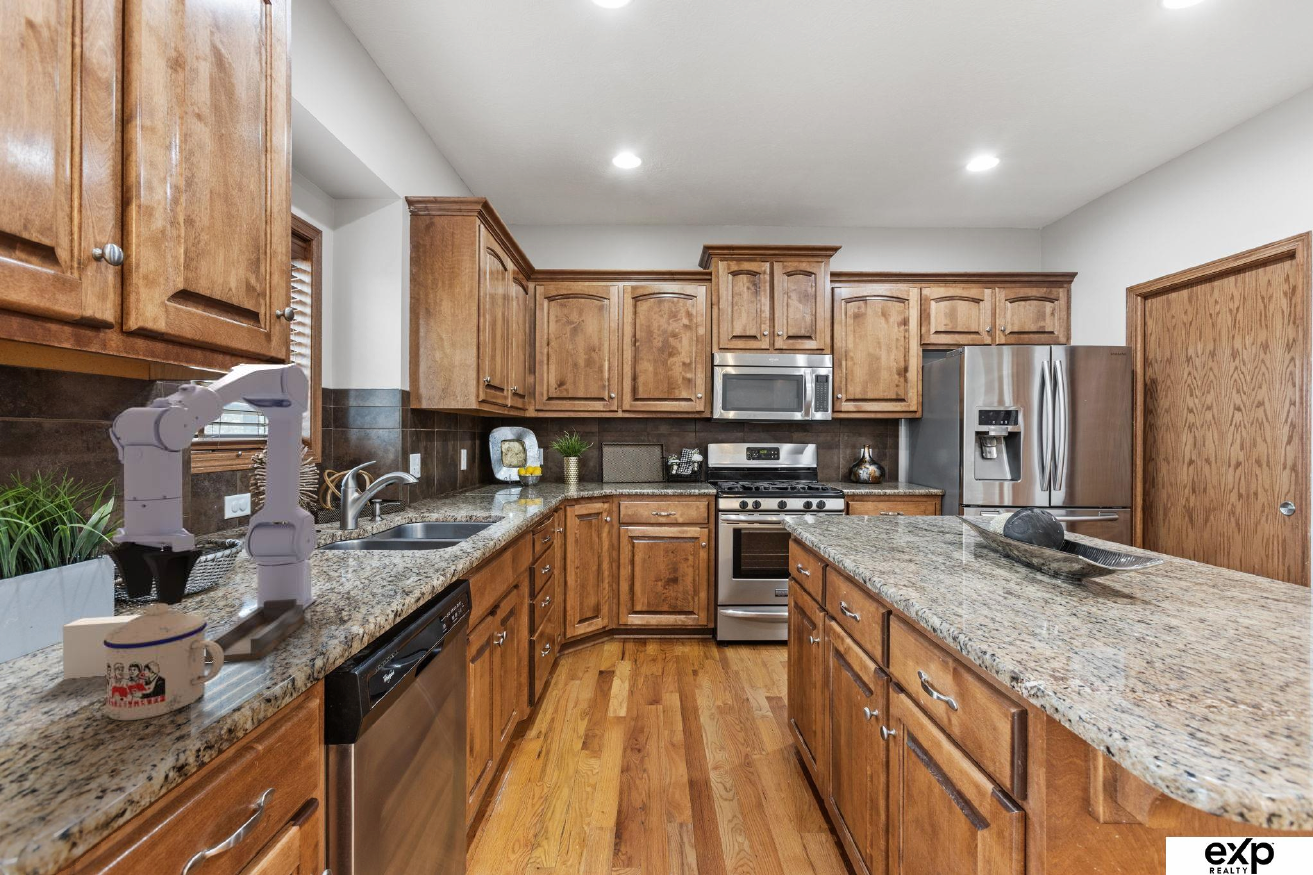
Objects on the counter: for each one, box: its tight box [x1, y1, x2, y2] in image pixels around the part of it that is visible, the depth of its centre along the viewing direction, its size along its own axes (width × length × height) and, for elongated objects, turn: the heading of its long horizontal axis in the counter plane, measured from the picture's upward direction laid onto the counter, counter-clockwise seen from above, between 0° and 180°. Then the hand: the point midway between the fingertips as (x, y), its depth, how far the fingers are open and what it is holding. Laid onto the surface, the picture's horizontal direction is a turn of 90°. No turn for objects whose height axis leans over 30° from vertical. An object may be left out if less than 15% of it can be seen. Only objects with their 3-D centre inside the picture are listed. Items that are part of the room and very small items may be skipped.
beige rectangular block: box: [62, 614, 143, 679], centre depth 75 cm, size 3×7×7 cm, turn 103°
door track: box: [205, 599, 306, 662], centre depth 86 cm, size 16×7×4 cm, turn 13°
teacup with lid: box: [104, 603, 225, 721], centre depth 66 cm, size 12×9×12 cm
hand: (154, 600), depth 74 cm, fingers open, 7 cm apart
